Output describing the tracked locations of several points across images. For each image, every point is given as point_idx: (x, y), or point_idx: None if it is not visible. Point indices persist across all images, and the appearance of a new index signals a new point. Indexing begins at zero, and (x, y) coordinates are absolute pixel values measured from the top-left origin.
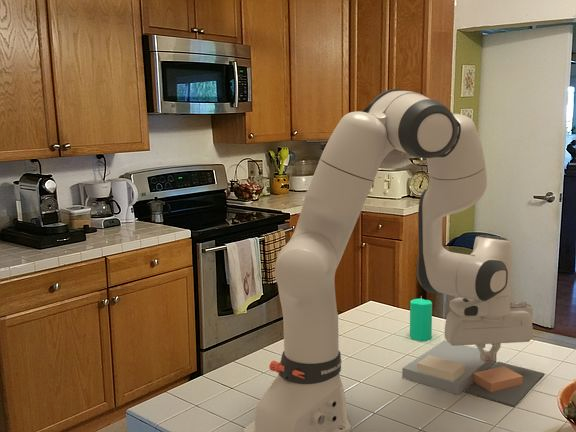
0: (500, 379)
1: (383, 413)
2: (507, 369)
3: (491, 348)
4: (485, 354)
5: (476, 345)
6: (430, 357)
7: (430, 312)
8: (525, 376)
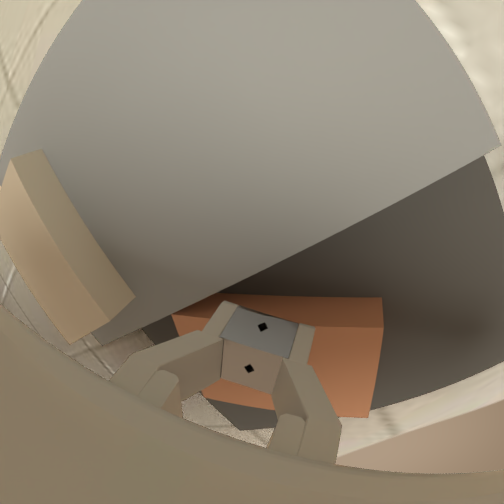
0: (256, 399)
1: (15, 296)
2: (365, 362)
3: (290, 388)
4: (214, 378)
5: (133, 363)
6: (12, 189)
7: None
8: (446, 350)
